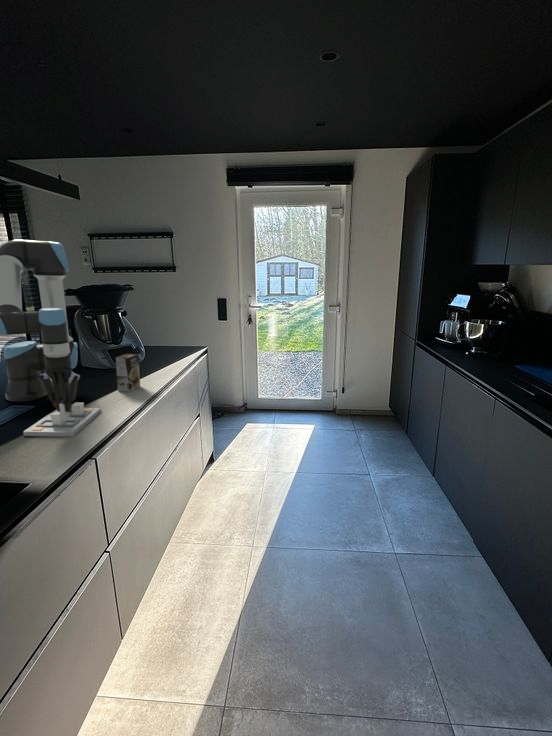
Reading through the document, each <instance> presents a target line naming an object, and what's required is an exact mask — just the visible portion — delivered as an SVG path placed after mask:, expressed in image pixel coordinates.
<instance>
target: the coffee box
mask: <svg viewBox="0 0 552 736" xmlns="http://www.w3.org/2000/svg"><path fill="white" fill-rule="evenodd" d="M139 361H140V360H139V353H138V354H137V353H124V354H122V355H119V356H116V357H115V367H116V370H115V371H116V381H117V391H121V392H127V393H130V392H132V391H134V390H136V389H138V388H140V387H141V377H140V375H141V374H140V362H139Z"/></svg>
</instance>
